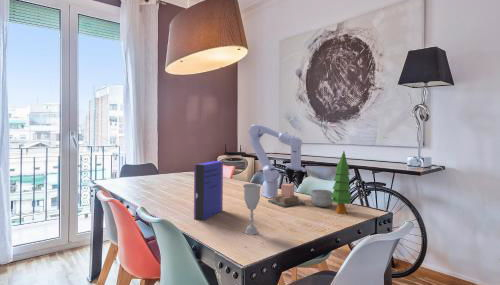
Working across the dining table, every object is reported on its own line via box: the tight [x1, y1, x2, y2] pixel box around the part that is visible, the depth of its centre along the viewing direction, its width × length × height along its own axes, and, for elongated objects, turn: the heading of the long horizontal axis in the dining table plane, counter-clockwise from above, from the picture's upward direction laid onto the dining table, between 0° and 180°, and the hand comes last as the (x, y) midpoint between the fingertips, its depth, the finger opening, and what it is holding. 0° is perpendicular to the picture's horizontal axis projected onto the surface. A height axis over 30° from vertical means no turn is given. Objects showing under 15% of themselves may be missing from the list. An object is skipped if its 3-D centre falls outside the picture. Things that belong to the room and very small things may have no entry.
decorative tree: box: [331, 151, 352, 215], centre depth 144 cm, size 10×9×30 cm
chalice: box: [242, 183, 262, 235], centre depth 114 cm, size 7×7×18 cm
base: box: [267, 193, 306, 208], centre depth 161 cm, size 14×14×4 cm
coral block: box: [280, 182, 295, 197], centre depth 162 cm, size 5×5×6 cm
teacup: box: [310, 189, 334, 208], centre depth 156 cm, size 14×11×8 cm
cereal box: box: [193, 160, 224, 221], centre depth 138 cm, size 17×5×24 cm, turn 157°
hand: (295, 182), depth 171 cm, fingers open, 7 cm apart
